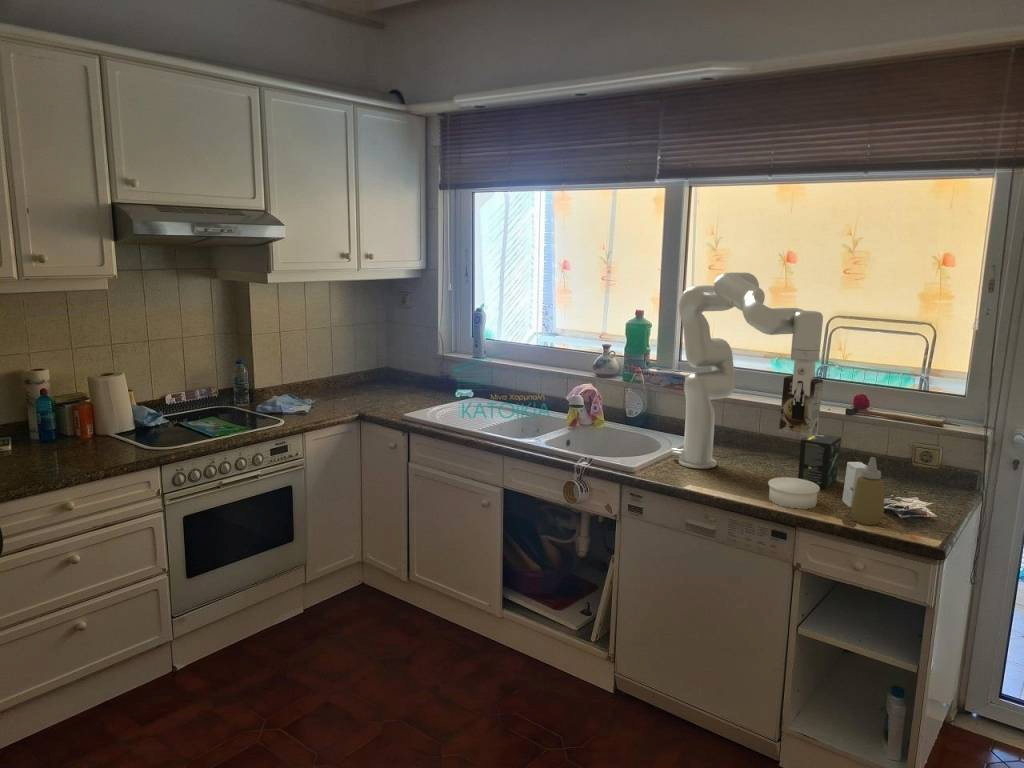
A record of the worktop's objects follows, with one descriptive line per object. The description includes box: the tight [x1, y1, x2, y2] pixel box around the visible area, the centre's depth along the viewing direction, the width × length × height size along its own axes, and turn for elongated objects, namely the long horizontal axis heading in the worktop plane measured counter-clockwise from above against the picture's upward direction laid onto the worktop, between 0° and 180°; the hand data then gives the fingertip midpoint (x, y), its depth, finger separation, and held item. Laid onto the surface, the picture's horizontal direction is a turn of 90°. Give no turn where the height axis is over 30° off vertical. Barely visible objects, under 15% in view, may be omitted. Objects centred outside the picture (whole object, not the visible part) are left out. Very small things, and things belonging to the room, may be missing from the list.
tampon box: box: [797, 432, 842, 490], centre depth 234 cm, size 11×9×15 cm
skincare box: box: [842, 461, 868, 509], centre depth 214 cm, size 6×4×12 cm
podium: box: [767, 476, 821, 510], centre depth 217 cm, size 14×14×5 cm
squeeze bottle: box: [851, 456, 885, 526], centre depth 200 cm, size 8×8×18 cm
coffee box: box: [778, 374, 824, 438], centre depth 212 cm, size 9×6×16 cm
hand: (799, 416), depth 213 cm, fingers closed on coffee box, 7 cm apart
